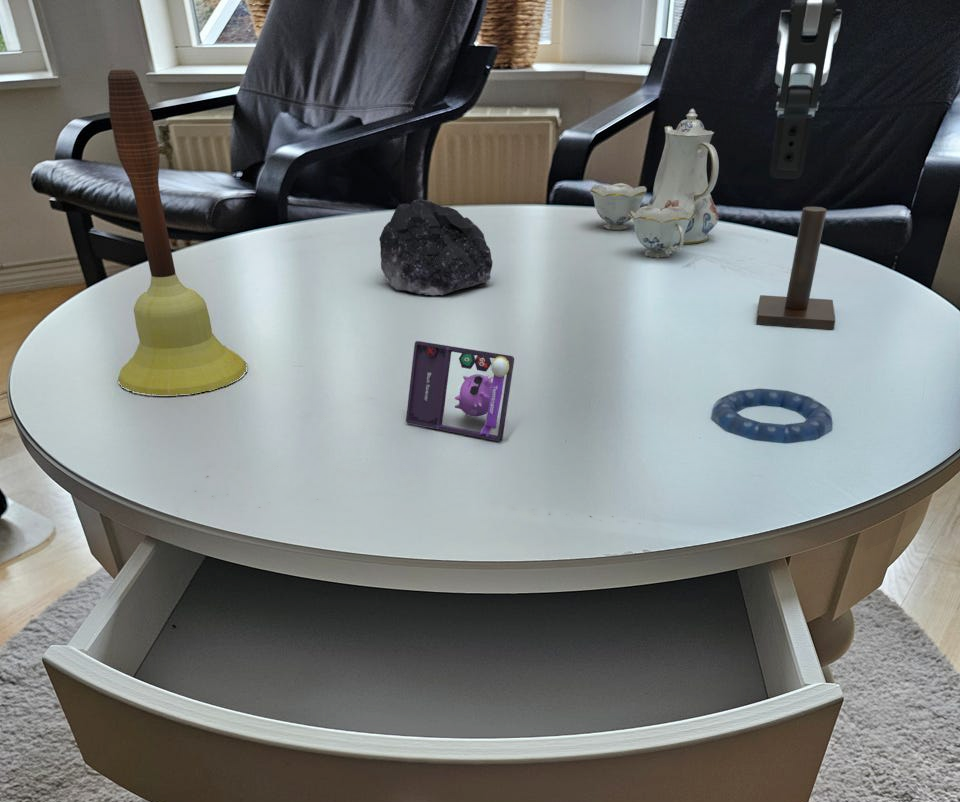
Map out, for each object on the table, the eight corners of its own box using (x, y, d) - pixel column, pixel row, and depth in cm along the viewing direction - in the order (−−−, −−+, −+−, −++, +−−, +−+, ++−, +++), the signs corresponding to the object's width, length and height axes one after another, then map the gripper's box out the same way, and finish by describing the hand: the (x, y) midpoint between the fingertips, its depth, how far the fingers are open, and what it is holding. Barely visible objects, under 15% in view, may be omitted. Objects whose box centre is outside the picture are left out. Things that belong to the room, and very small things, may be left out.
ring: (827, 413, 78) (832, 391, 77) (831, 459, 71) (836, 435, 70) (714, 403, 80) (717, 381, 79) (705, 446, 73) (709, 423, 72)
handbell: (114, 361, 91) (41, 68, 76) (238, 346, 94) (191, 62, 80) (120, 404, 81) (38, 79, 67) (258, 386, 85) (208, 72, 70)
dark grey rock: (507, 296, 111) (512, 206, 106) (401, 299, 106) (401, 205, 101) (467, 279, 121) (470, 196, 116) (370, 281, 117) (368, 195, 112)
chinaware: (571, 233, 141) (566, 112, 131) (669, 214, 144) (671, 93, 134) (651, 278, 120) (652, 137, 109) (764, 254, 123) (775, 115, 112)
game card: (410, 340, 74) (509, 355, 71) (440, 343, 79) (534, 358, 76) (401, 422, 77) (496, 441, 73) (430, 421, 81) (521, 439, 78)
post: (830, 308, 103) (853, 203, 96) (833, 329, 97) (857, 218, 90) (758, 303, 105) (775, 199, 98) (756, 324, 98) (774, 214, 92)
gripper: (905, -131, 51) (843, 187, 60) (885, -112, 62) (835, 154, 72) (768, -124, 53) (728, 184, 62) (772, -107, 64) (737, 152, 73)
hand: (785, 168), depth 67 cm, fingers open, 8 cm apart
